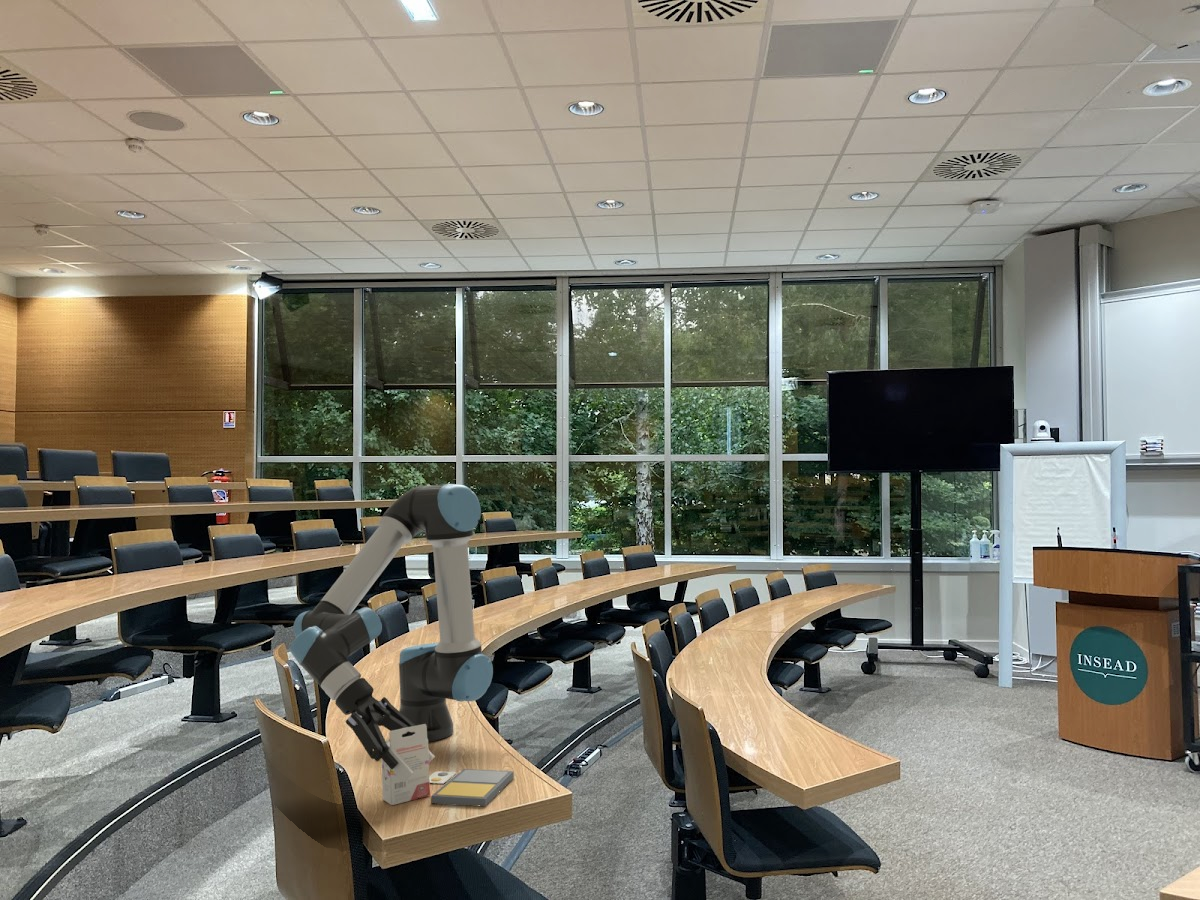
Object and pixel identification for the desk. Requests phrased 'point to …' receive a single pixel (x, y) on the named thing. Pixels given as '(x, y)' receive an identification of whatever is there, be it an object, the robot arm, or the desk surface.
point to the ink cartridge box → (417, 760)
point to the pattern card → (441, 777)
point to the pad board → (472, 787)
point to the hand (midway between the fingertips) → (419, 769)
